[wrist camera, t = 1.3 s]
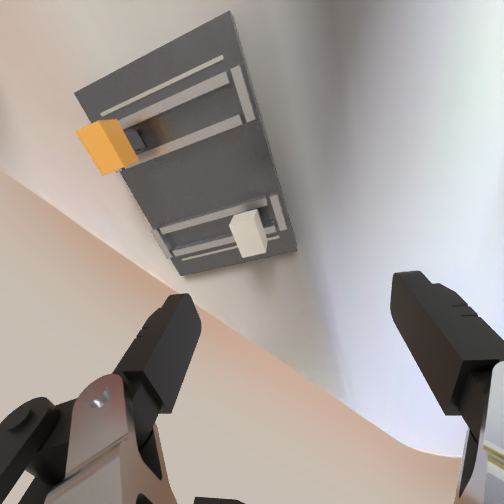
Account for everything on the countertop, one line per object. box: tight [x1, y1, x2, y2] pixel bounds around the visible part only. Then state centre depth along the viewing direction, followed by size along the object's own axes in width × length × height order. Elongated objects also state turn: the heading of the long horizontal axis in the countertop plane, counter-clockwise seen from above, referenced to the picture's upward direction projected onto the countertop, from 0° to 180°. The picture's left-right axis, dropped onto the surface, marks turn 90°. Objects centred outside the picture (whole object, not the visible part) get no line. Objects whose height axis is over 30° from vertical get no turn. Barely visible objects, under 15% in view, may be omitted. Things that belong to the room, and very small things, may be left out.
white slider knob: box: [229, 209, 268, 258], centre depth 24 cm, size 2×4×5 cm, turn 18°
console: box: [74, 11, 297, 276], centre depth 26 cm, size 16×22×2 cm
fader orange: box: [75, 119, 145, 176], centre depth 22 cm, size 2×4×5 cm, turn 19°
